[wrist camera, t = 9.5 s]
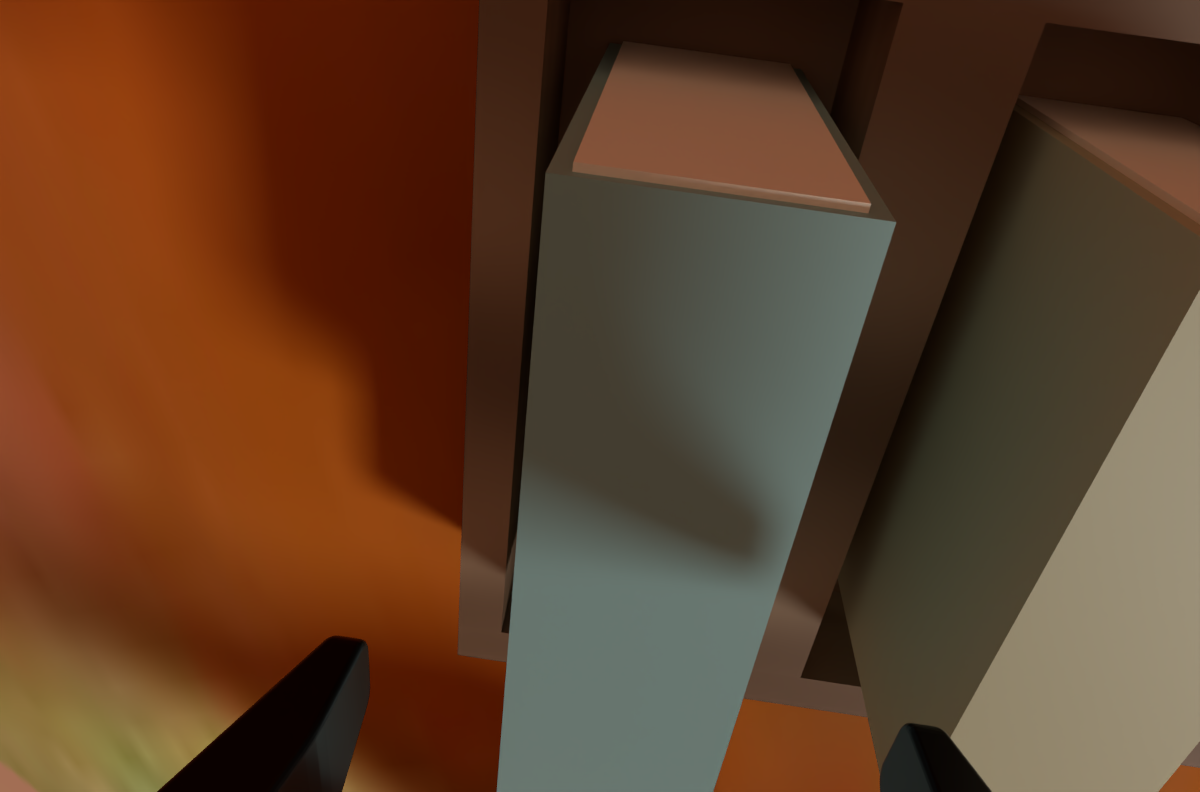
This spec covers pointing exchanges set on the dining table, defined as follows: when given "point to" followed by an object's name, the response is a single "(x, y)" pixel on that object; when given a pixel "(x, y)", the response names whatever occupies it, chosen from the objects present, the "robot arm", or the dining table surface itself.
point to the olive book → (1050, 472)
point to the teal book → (674, 408)
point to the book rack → (894, 166)
